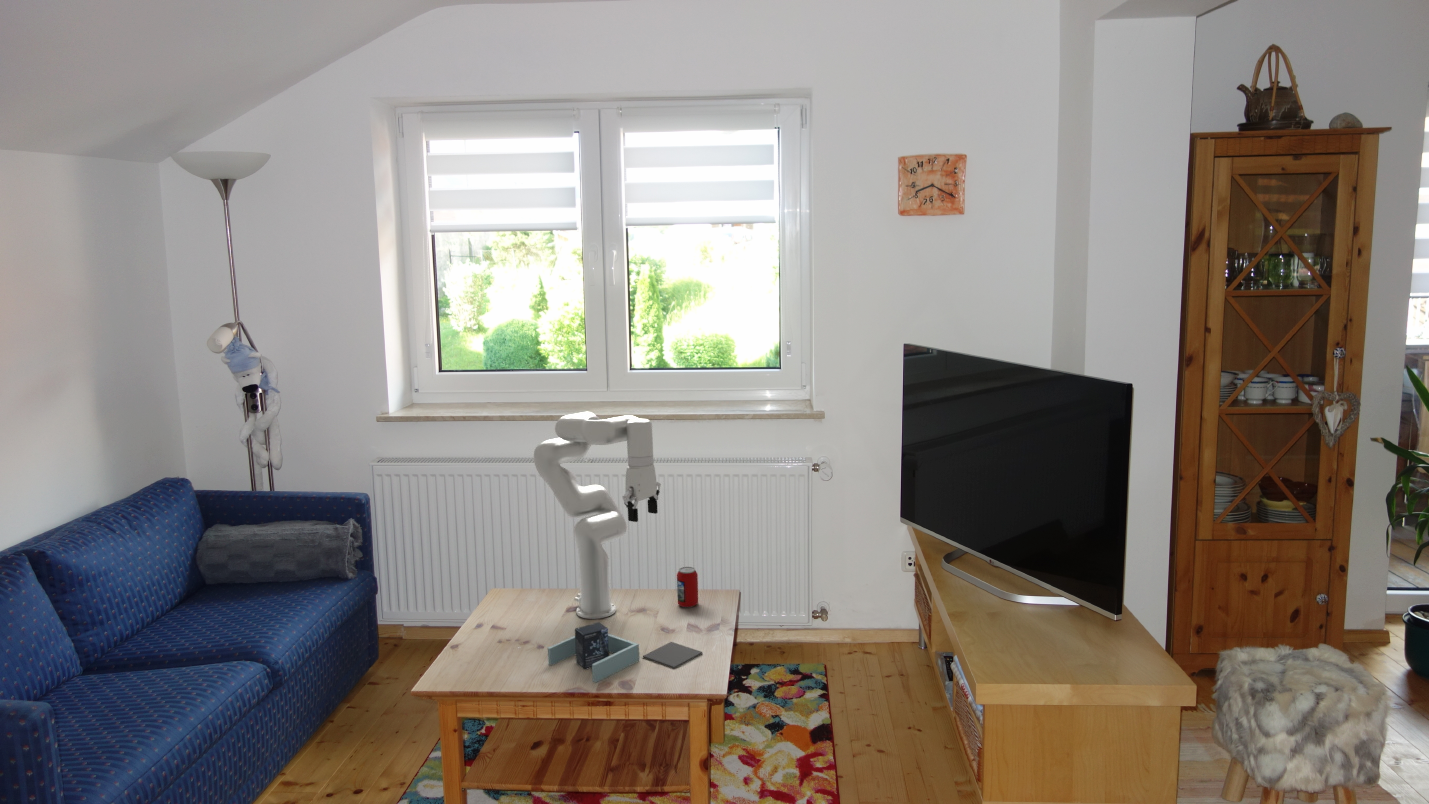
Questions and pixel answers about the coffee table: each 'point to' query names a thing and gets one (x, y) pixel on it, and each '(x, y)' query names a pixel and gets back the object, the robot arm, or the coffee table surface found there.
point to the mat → (672, 655)
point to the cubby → (621, 658)
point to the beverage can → (687, 587)
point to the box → (591, 644)
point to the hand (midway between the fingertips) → (643, 516)
